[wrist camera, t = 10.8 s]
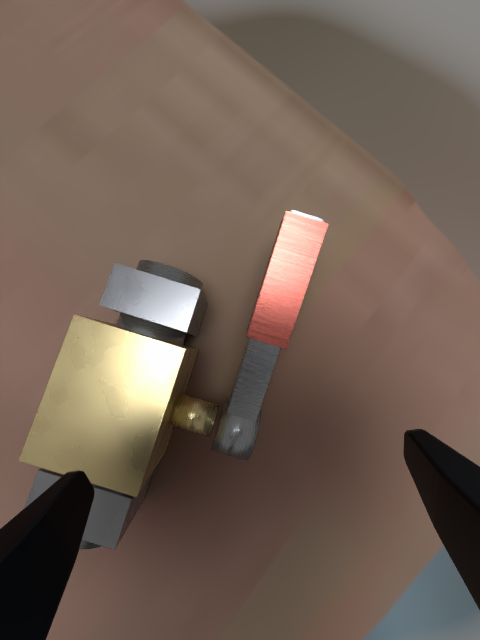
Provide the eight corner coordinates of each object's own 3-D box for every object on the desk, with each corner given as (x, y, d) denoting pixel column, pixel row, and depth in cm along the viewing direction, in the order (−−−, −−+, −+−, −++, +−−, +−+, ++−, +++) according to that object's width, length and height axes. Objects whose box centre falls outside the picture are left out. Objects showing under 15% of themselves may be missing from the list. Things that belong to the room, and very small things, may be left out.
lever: (245, 473, 15) (331, 218, 14) (207, 461, 15) (288, 205, 14) (246, 442, 18) (316, 230, 17) (214, 432, 18) (281, 219, 17)
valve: (181, 524, 19) (158, 606, 13) (62, 487, 19) (-16, 552, 13) (249, 305, 20) (257, 286, 14) (140, 271, 20) (102, 238, 14)
